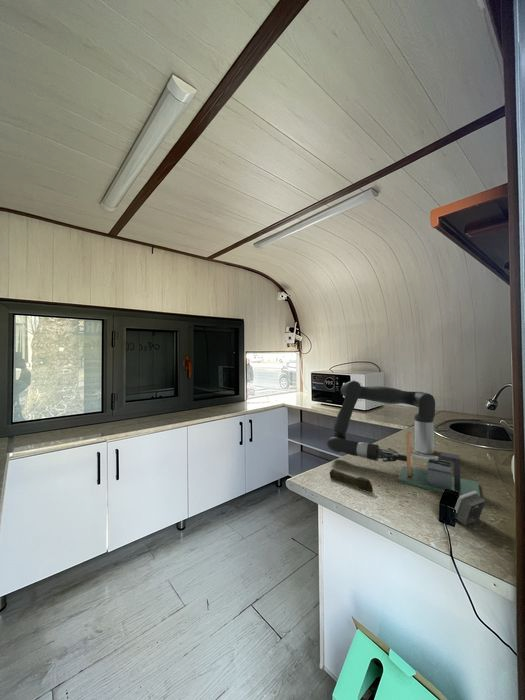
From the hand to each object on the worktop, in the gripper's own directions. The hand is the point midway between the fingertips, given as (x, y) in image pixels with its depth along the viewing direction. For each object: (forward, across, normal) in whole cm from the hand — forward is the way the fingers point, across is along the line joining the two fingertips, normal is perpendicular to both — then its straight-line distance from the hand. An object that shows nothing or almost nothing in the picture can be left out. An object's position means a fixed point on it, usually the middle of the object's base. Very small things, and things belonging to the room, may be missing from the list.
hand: (407, 458), depth 121 cm
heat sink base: (+11, 0, +8) cm, 14 cm away
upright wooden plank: (+6, 0, +6) cm, 9 cm away
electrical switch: (+21, -24, +8) cm, 33 cm away
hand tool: (-19, -21, +8) cm, 30 cm away
